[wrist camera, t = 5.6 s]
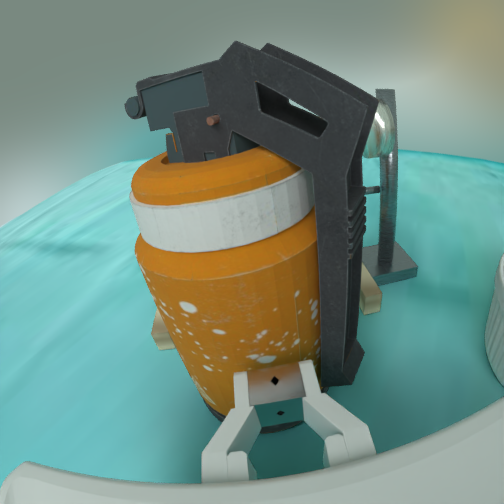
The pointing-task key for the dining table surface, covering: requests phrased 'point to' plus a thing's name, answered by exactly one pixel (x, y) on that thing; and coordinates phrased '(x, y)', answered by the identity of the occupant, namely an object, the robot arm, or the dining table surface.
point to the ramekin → (496, 326)
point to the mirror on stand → (386, 196)
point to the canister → (254, 217)
